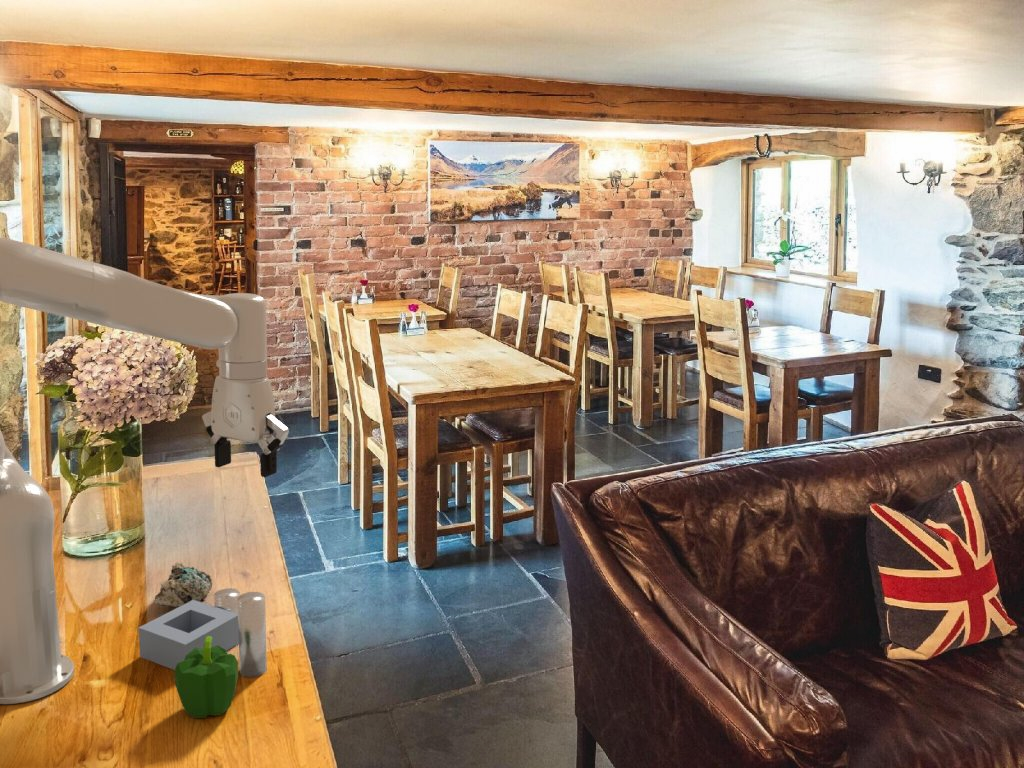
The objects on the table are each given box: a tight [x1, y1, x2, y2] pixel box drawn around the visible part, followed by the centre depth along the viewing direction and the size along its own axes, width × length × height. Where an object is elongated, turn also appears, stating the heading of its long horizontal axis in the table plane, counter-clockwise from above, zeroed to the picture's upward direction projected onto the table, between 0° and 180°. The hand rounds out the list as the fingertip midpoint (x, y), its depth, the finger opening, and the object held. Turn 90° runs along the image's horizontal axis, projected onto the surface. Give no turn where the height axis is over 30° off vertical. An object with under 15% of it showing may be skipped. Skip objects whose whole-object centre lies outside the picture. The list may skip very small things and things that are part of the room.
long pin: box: [237, 591, 268, 678], centre depth 133 cm, size 4×4×12 cm
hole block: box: [138, 600, 239, 671], centre depth 139 cm, size 11×10×5 cm
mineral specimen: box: [153, 561, 213, 608], centre depth 154 cm, size 12×9×8 cm
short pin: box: [213, 587, 241, 614], centre depth 146 cm, size 4×4×6 cm
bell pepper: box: [173, 636, 239, 719], centre depth 123 cm, size 8×8×10 cm
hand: (245, 470), depth 147 cm, fingers open, 9 cm apart
